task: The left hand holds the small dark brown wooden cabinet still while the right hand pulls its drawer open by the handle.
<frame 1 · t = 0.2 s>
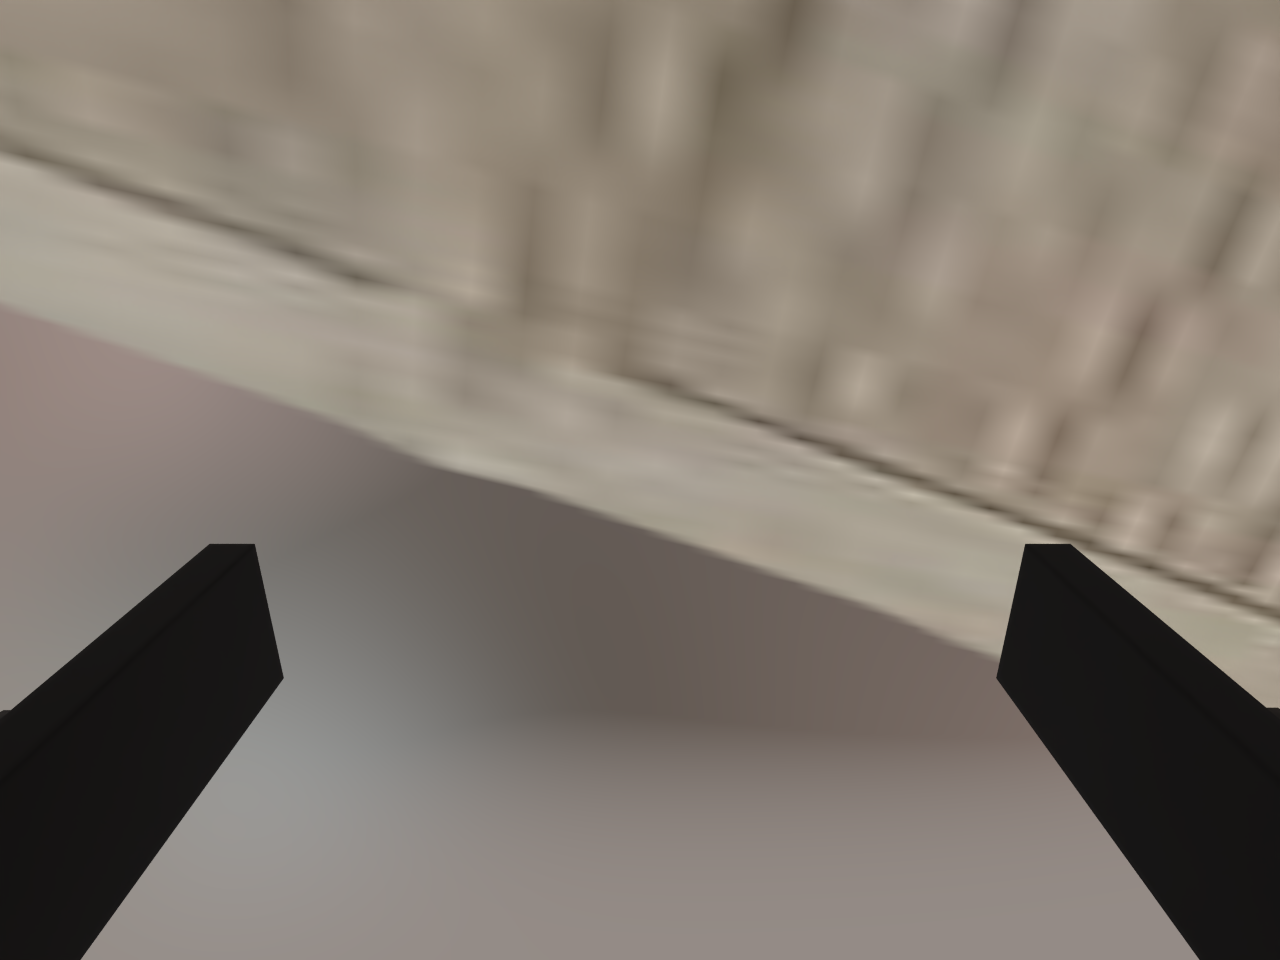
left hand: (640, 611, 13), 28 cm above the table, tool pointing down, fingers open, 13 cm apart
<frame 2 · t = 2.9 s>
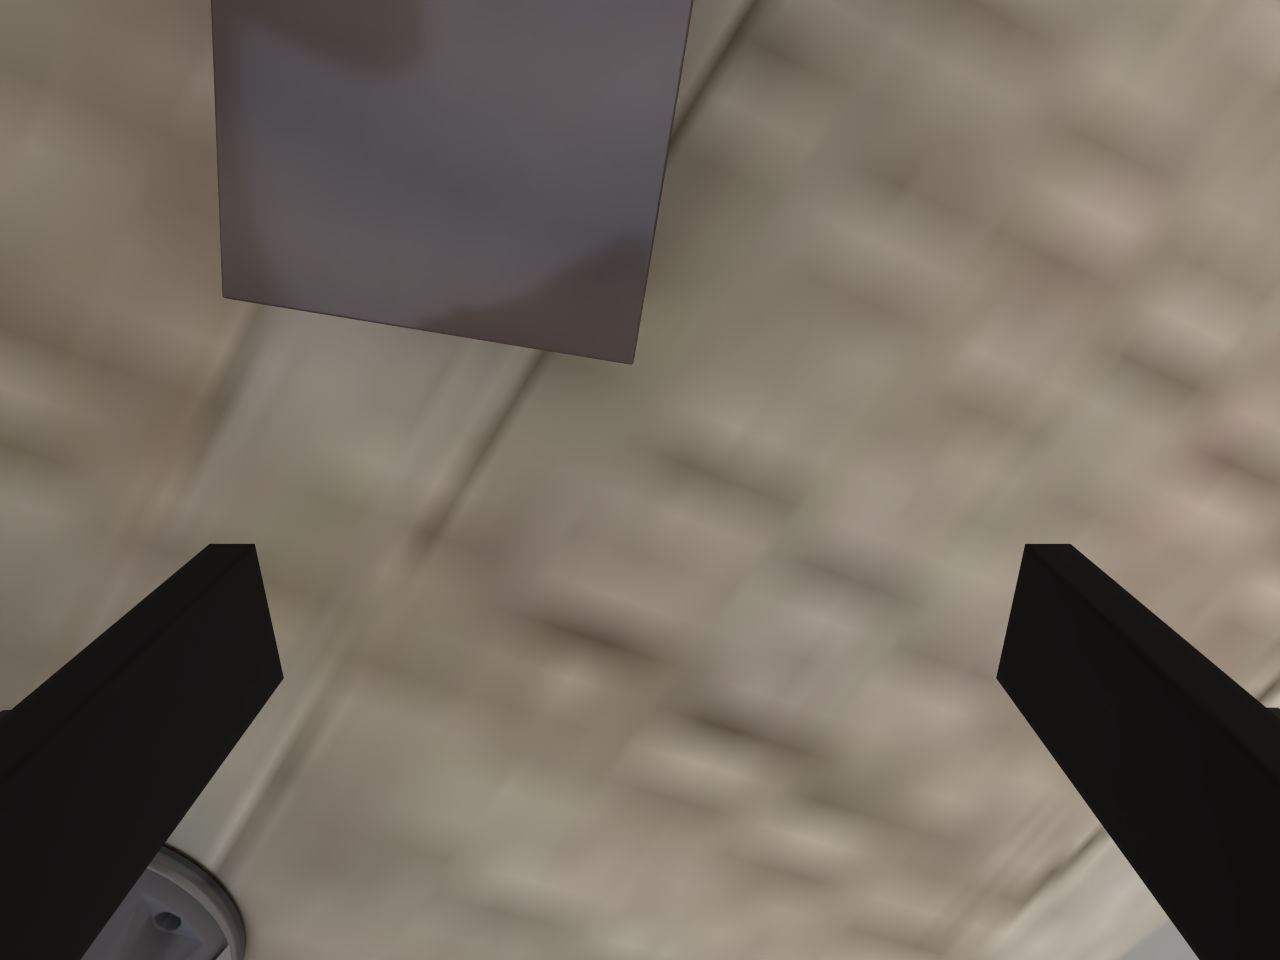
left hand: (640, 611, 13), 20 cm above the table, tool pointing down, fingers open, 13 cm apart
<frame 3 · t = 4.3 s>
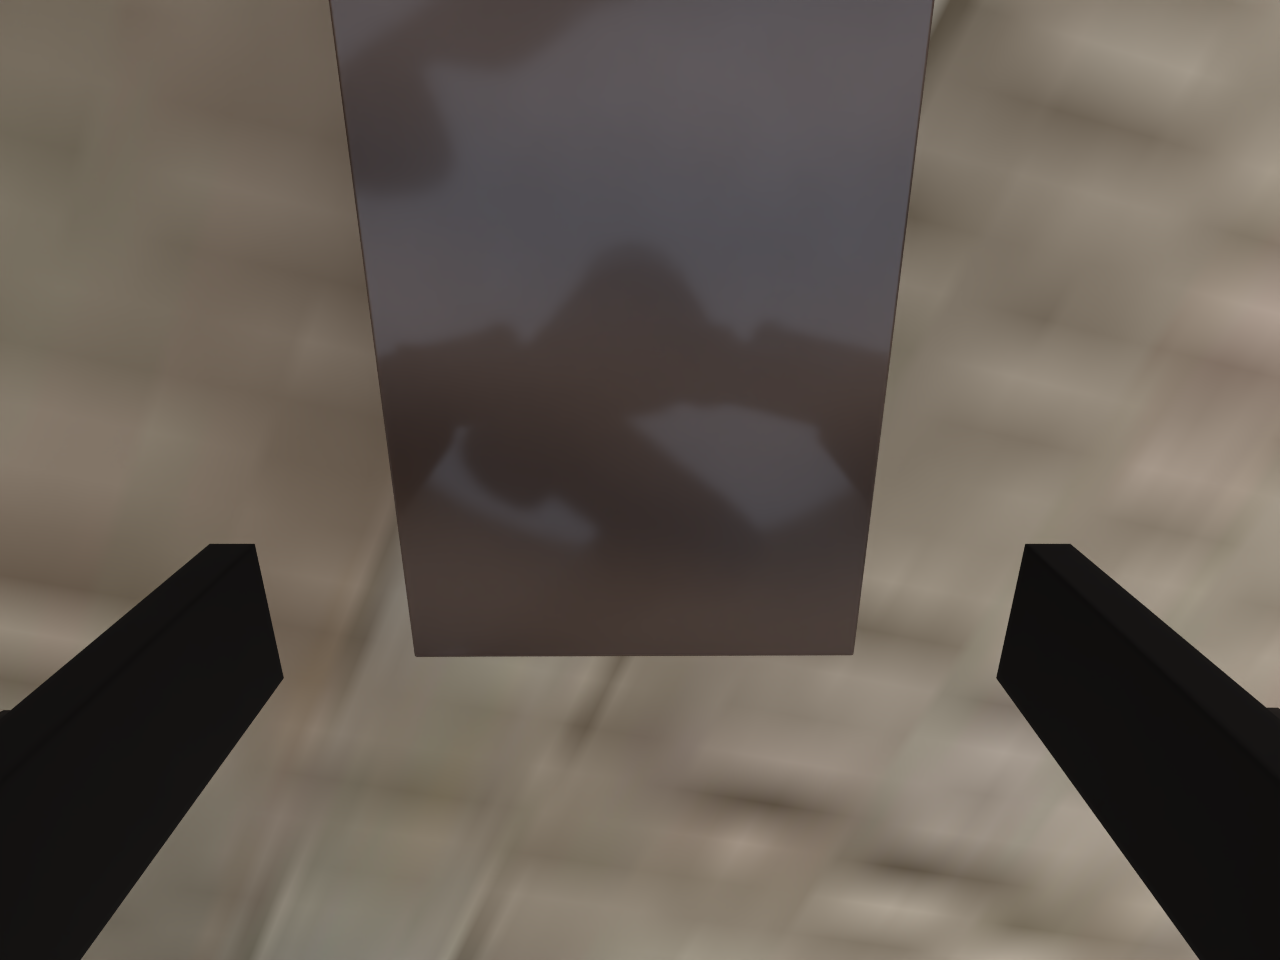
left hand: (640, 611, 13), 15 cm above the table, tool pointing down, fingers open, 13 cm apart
cabinet: (633, 196, 25), on the table
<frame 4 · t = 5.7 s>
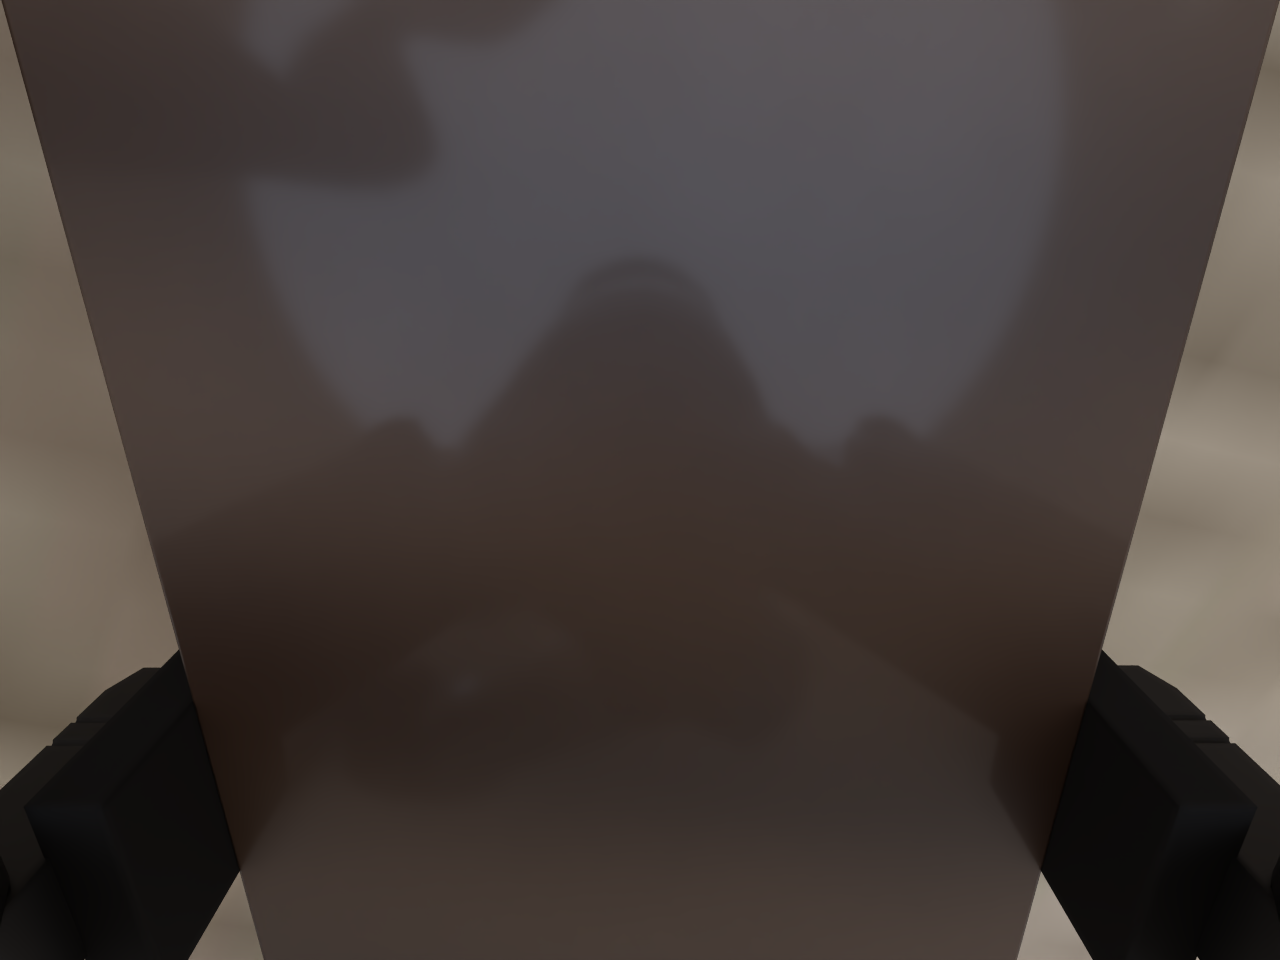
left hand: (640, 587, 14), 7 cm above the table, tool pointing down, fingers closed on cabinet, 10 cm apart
cabinet: (639, 189, 18), on the table, touching left hand
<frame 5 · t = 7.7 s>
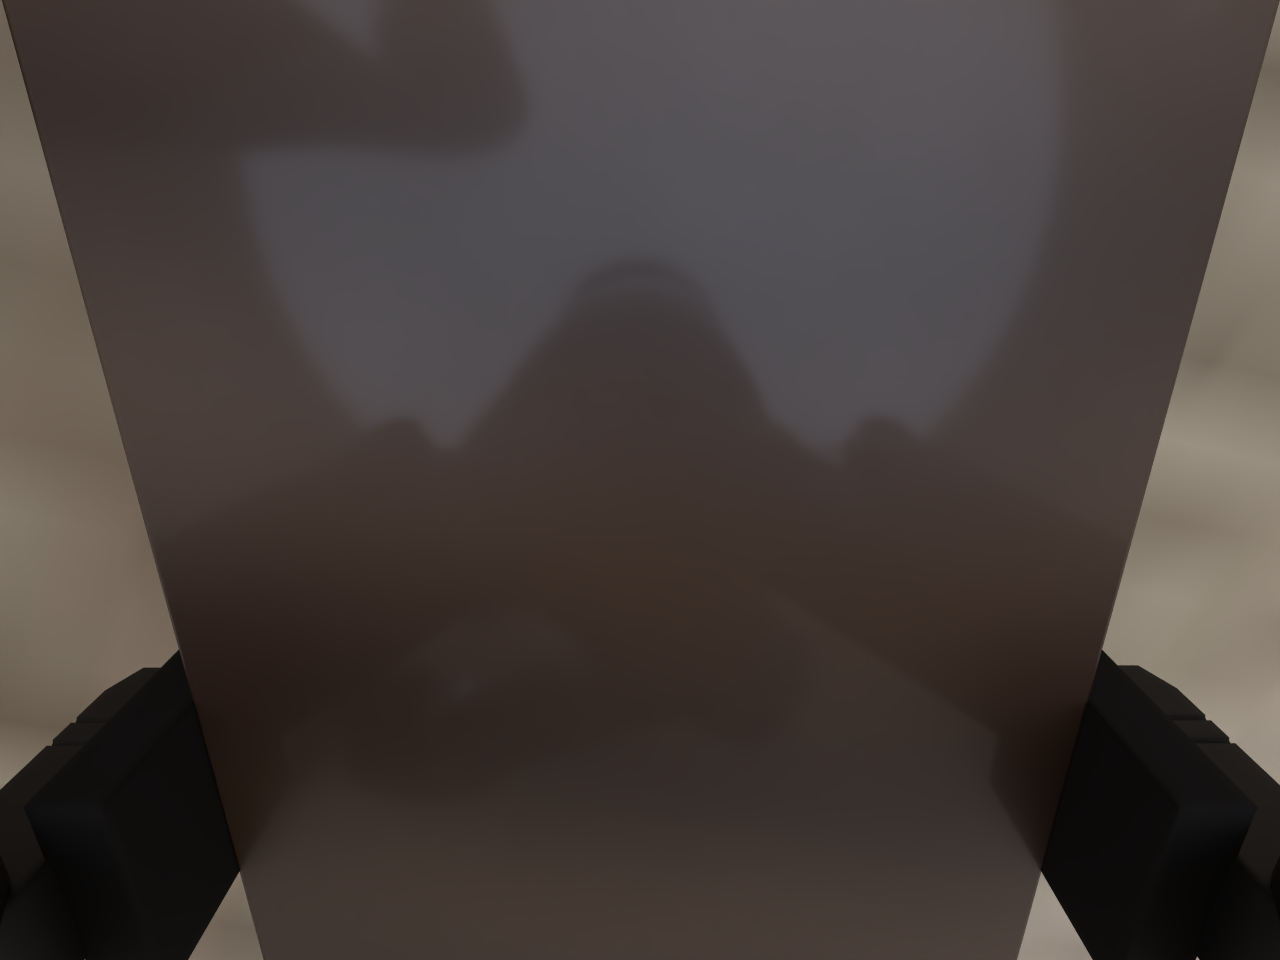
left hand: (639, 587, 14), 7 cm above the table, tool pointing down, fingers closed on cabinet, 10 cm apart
cabinet: (639, 189, 18), on the table, touching left hand
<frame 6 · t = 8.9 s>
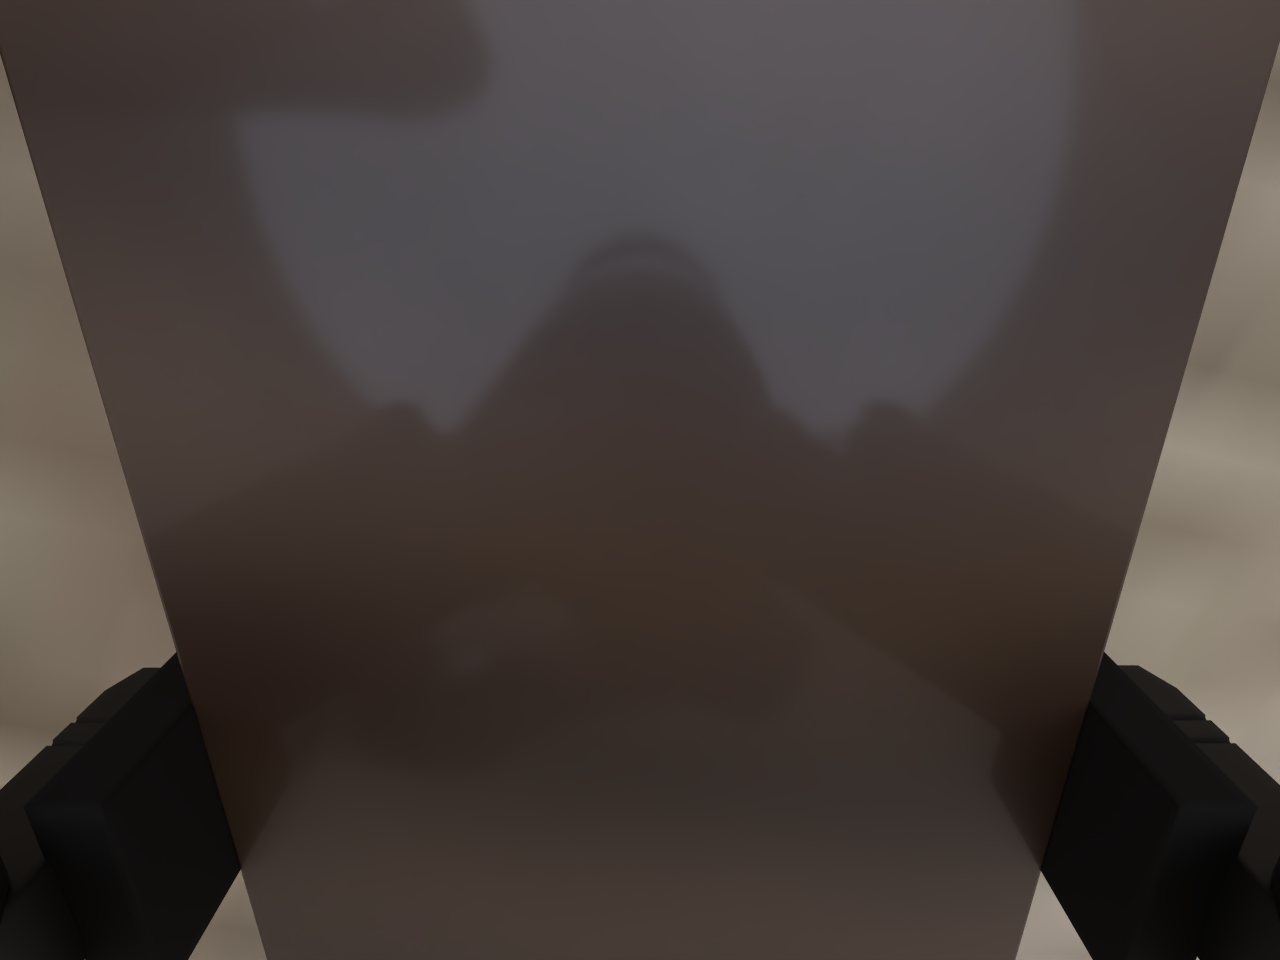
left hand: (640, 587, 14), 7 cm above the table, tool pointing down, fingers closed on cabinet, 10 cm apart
cabinet: (640, 180, 17), on the table, touching left hand
when the left hand's fingers open (7 cm above the table, at t = 10.1 s): cabinet stays where it is, on the table.
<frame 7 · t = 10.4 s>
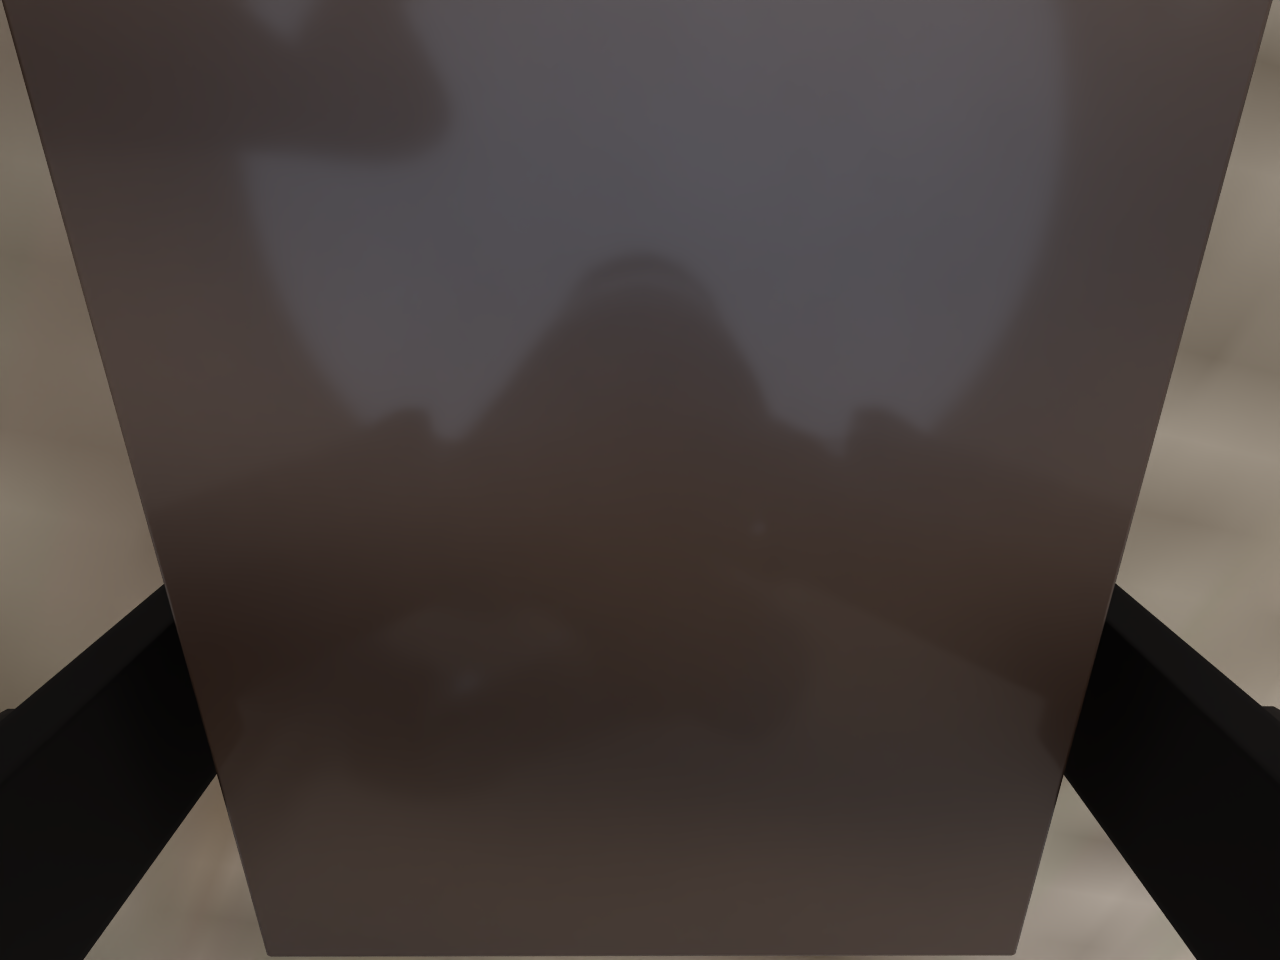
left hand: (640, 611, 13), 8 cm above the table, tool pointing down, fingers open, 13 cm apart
cabinet: (639, 177, 17), on the table
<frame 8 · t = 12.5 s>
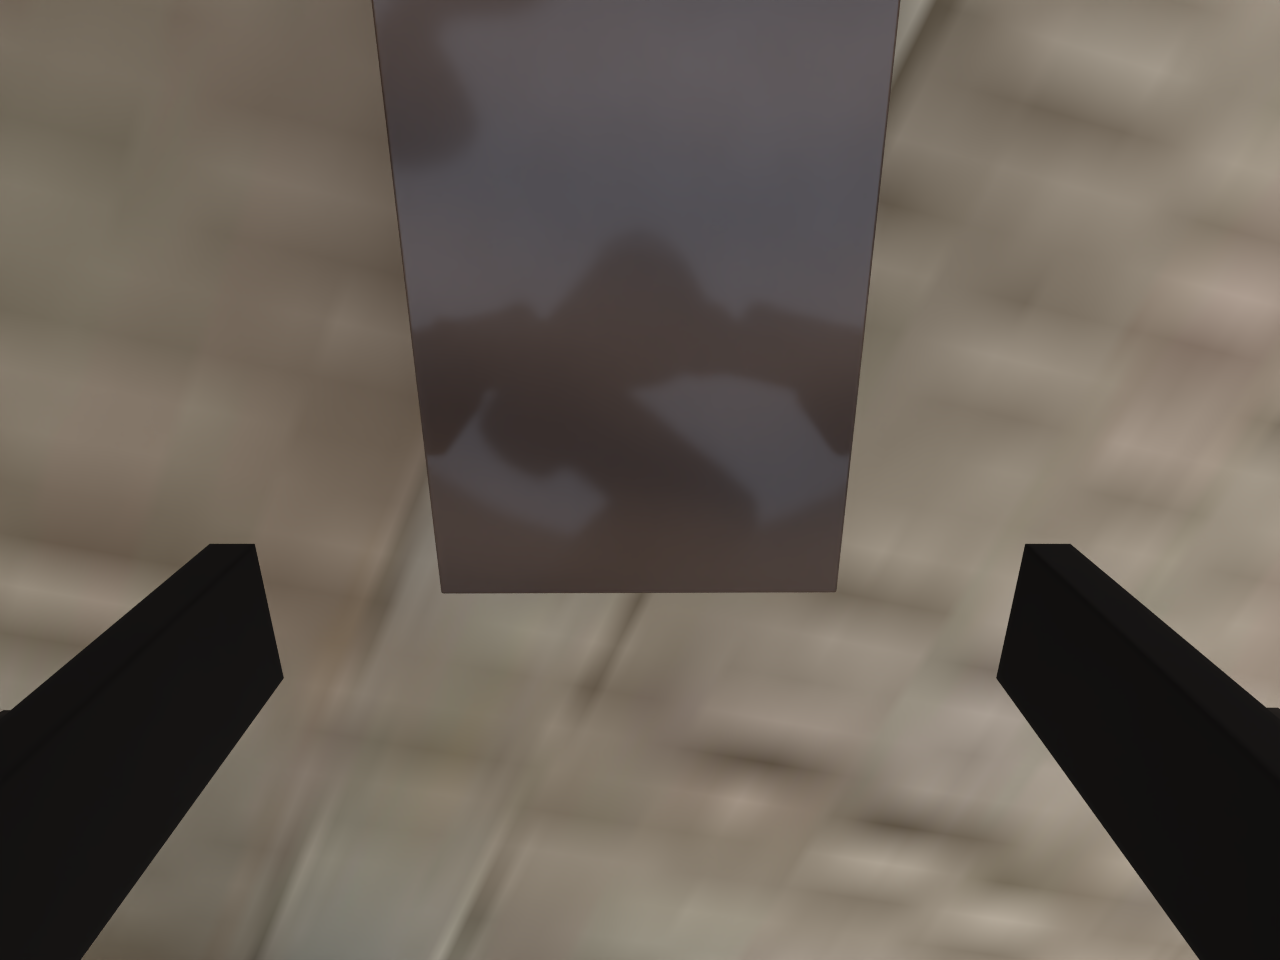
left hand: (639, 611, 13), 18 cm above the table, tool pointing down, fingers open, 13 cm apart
cabinet: (638, 181, 27), on the table
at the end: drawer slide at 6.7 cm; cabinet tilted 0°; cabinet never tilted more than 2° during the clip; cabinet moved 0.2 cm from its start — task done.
